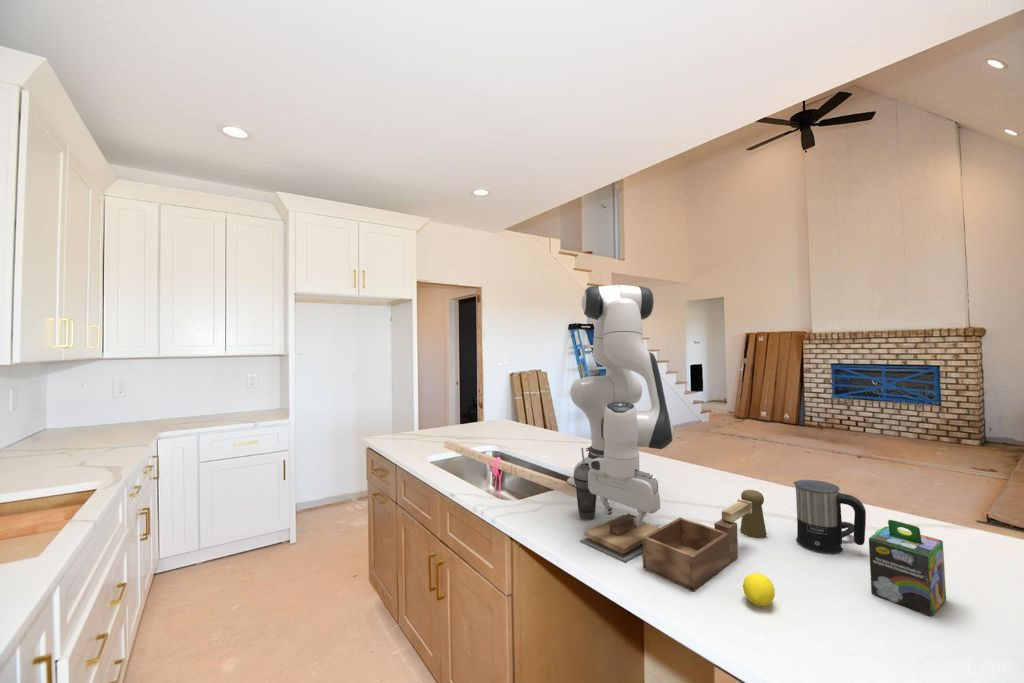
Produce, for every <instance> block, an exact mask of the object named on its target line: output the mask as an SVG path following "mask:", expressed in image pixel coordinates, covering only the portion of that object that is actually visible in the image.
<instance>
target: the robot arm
mask: <svg viewBox="0 0 1024 683" xmlns="http://www.w3.org/2000/svg"><path fill="white" fill-rule="evenodd" d="M654 306H655V299H654V293H653V291H652V290H651V289H650V288H649V287H646V286H641V285H638V286H633V285H626V284H625V285H624V284H618V285H617V284H615V285H614V284H613V285H610V284H609V285H601V286H600V285H592V286H589V287H587V288H586V289H585V290H584V293H583V295H582V298H581V308H582V310H583V314H584V315H585V317H587V318H589V319H591V320H595V323H594V330H593V346H592V358H593V360H594V361H595V362H596V364H598V365H600V366H602V367H604V368H605V375H593V376H585V377H581V378H577V379H575V380H574V381H573V382H572V384H571V386H570V389H569V390H570V392H569V394H570V398H571V401H572V402H573V404H574V405H575V406H576V407H578V408H579V410H581V411H582V412H583V413H584V414H585V416H586V418H587V419H588V423H589V426H590V427H589V428H590V435H591V437H590V438H591V445H590V446H589V447H586V448H585V449H586V450H585V452H588V454H587V456H585V457H584V461H585V463H588V464H589V468H591V469H590V470H589V472H588V489H589V491H590V492H591V493H592V494H595V495H596V497H597V496H598V497H599V501H600V503H601V506H602V507H603V514H604V515H607V516H611V515H612V514H613V506H611V505H610V502H609V501H611V502H615V503H618V504H620V505H623V506H626V507H629V508H632V509H635V510H636V513H637V514H638V515H637V517H636V518H634V525H635V526H638V527H641V526H642V525H643V522H644V518H645V516H646V515H647V514H650V515H651V514H654V513H657V512H658V511H659V510H660V509H661V498H660V497H661V496H660V491H659V481H658V479H657V478H656V477H655V476H654V475H653V474H652V473H651V472H644V471H642V470H640V453H639V449H638V447H640V448H642V447H643V448H648V449H649V448H650V449H656V450H663V449H665V448H667V447H668V445H670V444H671V443H672V442H673V438H674V435H675V433H674V432H675V431H674V425H673V422H672V419H671V416H670V414H669V412H668V407H667V402H666V397H665V392H664V387H663V382H662V377H661V372H660V370H659V369H660V368H659V365H658V361H657V359H656V356H655V355H654V353H652V352H650V351H649V350H648V349H647V348H646V344H645V342H644V335H643V334H644V331H643V320H646V319H647V318H648V317H650V316H651V315H652V312H653V311H654V310H653V309H654ZM631 371H632V372H634V373H636V374H638V375H640V376H641V377H642V378H643V379H644V381H645V383H646V385H647V390H648V391H647V392H648V396H649V400H650V405H651V408H650V409H649V410H636V406H635V405H634V404H636V403H638V402H640V400H641V398H642V397H643V396H642V395H643V386H642V384H641V382H640V380H639V379H638V377H636V376H635V375H634V374H633V373H632V372H631ZM580 464H583V459H582V460H581V461H579V462H578V463H577V464H576V465H575V466H574V469H573V473H574V472H575V470H576V468H577V467H578V466H579V465H580ZM566 483H567V484H569V485H571V484H572V485H571V486H573V485H575V481H574V475H572V476H569V478H567V480H566Z"/></svg>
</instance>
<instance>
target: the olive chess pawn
mask: <svg viewBox="0 0 1024 683" xmlns="http://www.w3.org/2000/svg"><path fill="white" fill-rule="evenodd" d="M740 499H742V500H746V501H750V502H752V513H751V514H750V513H747V514H745V515H744V516H742V517H741V523H740V529H739V531H741V532H740V533H741V534H742V535H743V534H744V536H745V535H746V536H745V537H748V538H752V539H757V538H761V539H765V538H767V536H768V534H767V530H766V523H765V519H764V518H765V517H764V510H763V505H764V502H765V498H764V495H763V493H761V492H760V491H758V490H754V489H746V490H745V489H744V490H743V491H742V492H741V494H740ZM766 535H767V536H766Z"/></svg>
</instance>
